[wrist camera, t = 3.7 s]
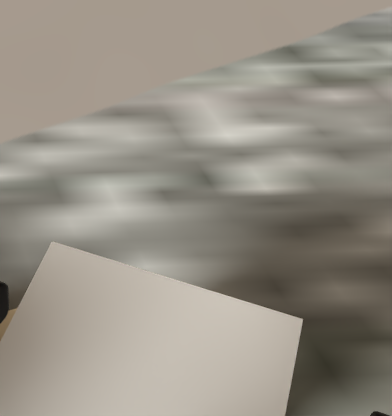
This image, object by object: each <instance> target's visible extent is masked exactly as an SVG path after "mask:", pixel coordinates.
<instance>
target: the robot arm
mask: <svg viewBox="0 0 392 416" xmlns="http://www.w3.org/2000/svg"><path fill="white" fill-rule="evenodd" d="M8 311H9V298H8V286H7V284H5V283H3V282H1V281H0V324H1V323H2V322H3V320H4V319H5V318H6V316H7V314H8ZM370 416H389V415H386V414H384V413H381V412H378V411H375V412H373V413H372V414H371V415H370Z"/></svg>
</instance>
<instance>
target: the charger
mask: <svg viewBox="0 0 392 416" xmlns="http://www.w3.org/2000/svg"><path fill="white" fill-rule="evenodd" d="M302 322H303V319H301V318H298V317H294V316H291V315H288V314H285V313H281V312H278V311H275V310H272V309H269V308H265V307H262V306H259V305H256V304H252V303H249V302H246V301H243V300H240V299H236V298H233V297H230V296H227V295H223V294H220V293H217V292H214V291H211V290H207V289H204V288H201V287H198V286H194V285H191V284H188V283H185V282H182V281H178V280H175V279H172V278H169V277H166V276H162V275H159V274H156V273H153V272H149V271H146V270H143V269H140V268H137V267H133V266H130V265H127V264H124V263H120V262H117V261H114V260H111V259H108V258H104V257H101V256H98V255H95V254H91V253H88V252H85V251H82V250H79V249H75V248H72V247H69V246H66V245H62V244H59V243H56V242H53V241H52V242H51V244H50V246H49V248H48V250H47V252H46V254H45V256H44V258H43V260H42V262H41V263H40V265H39V267H38V269H37V271H36V273H35V275H34V277H33V279H32V281H31V283H30V285H29V287H28V289H27V291H26V293H25V295H24V296H23V298H22V300H21V302H20V304H19V306H18V308H17V310H16V312H15V314H14V316H13V318H12V320H11V322H10V324H9V326H8V328H7V329H6V331H5V333H4V335H3V337H2V339H1V341H0V416H285V413H286V408H287V402H288V397H289V392H290V386H291V381H292V376H293V370H294V365H295V360H296V354H297V349H298V344H299V338H300V333H301V328H302Z"/></svg>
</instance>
